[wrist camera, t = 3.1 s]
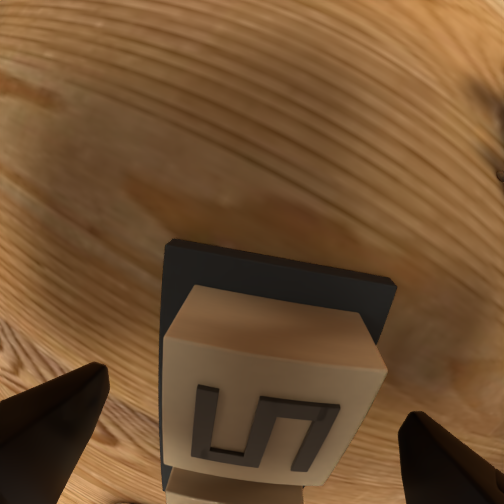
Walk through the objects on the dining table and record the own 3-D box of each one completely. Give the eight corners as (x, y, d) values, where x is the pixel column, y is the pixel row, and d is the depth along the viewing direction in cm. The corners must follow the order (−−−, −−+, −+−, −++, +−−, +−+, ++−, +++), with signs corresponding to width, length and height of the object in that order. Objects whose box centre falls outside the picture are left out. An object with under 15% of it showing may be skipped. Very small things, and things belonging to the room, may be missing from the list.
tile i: (301, 453, 11) (304, 514, 8) (275, 502, 12) (273, 550, 9) (182, 435, 11) (163, 495, 8) (180, 488, 13) (167, 534, 10)
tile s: (359, 311, 9) (392, 374, 6) (315, 424, 10) (323, 490, 7) (194, 283, 9) (160, 339, 6) (183, 404, 11) (162, 468, 8)
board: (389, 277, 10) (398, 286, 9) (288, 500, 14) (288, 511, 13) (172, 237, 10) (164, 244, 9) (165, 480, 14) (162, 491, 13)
